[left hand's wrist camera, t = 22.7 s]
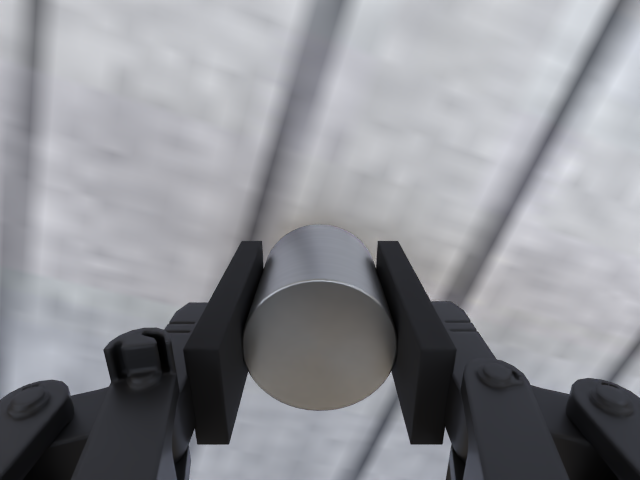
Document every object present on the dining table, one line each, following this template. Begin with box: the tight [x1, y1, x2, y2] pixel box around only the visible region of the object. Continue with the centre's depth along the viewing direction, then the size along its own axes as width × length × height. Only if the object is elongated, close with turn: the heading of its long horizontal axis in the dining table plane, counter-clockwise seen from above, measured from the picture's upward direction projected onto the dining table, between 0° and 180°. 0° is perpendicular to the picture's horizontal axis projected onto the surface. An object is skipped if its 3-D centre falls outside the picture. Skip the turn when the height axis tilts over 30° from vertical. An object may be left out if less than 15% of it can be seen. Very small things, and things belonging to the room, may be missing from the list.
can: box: [242, 224, 398, 411], centre depth 13 cm, size 4×4×5 cm
